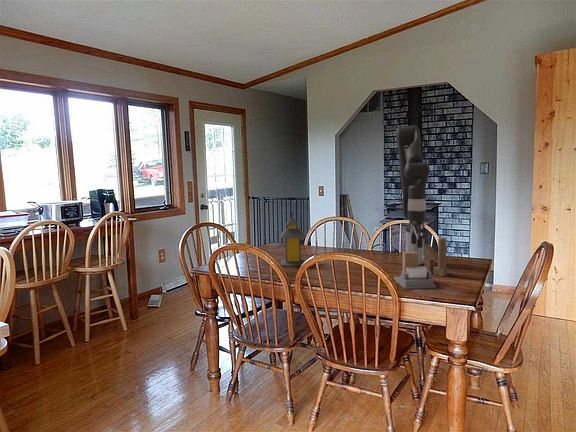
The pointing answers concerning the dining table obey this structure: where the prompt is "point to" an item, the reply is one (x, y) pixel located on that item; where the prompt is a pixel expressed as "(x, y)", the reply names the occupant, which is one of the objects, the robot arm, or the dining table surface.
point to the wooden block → (436, 258)
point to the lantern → (292, 243)
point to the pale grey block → (416, 272)
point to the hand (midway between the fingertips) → (416, 245)
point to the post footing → (412, 261)
